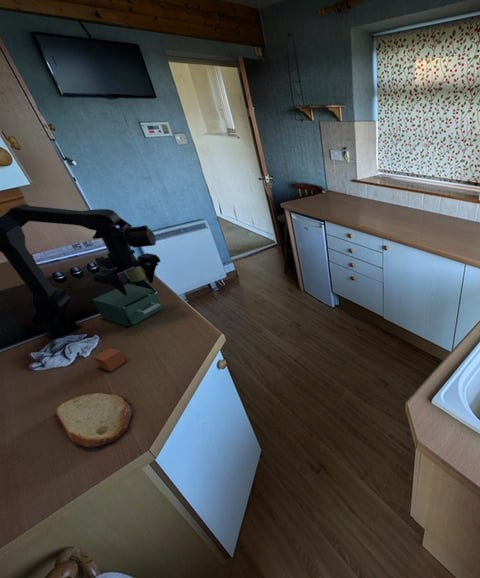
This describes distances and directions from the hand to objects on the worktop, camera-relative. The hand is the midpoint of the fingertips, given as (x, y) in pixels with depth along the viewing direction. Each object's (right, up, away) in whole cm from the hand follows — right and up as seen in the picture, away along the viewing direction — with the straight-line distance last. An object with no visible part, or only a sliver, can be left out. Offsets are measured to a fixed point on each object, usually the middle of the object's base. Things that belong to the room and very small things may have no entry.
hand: (138, 288), depth 105 cm
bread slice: (+15, -34, -32) cm, 49 cm away
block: (+5, -23, -15) cm, 29 cm away
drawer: (-4, -10, +6) cm, 12 cm away
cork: (-27, +5, +31) cm, 41 cm away
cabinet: (-9, -9, +8) cm, 15 cm away
